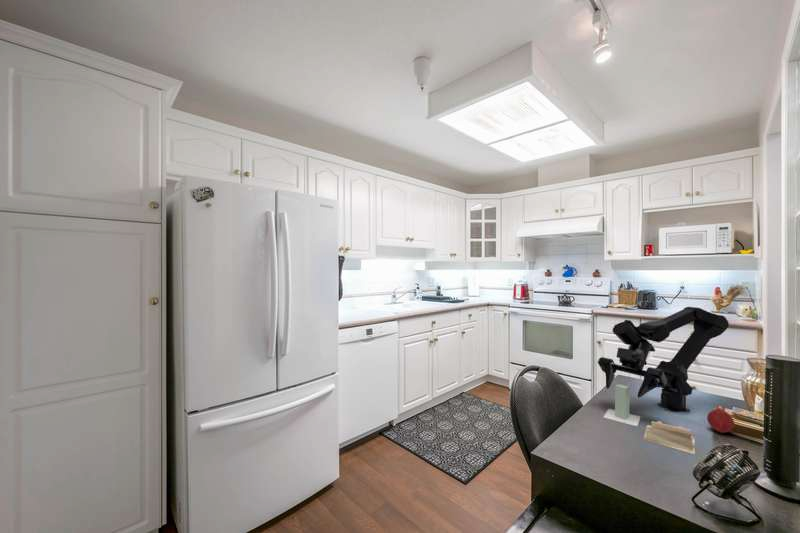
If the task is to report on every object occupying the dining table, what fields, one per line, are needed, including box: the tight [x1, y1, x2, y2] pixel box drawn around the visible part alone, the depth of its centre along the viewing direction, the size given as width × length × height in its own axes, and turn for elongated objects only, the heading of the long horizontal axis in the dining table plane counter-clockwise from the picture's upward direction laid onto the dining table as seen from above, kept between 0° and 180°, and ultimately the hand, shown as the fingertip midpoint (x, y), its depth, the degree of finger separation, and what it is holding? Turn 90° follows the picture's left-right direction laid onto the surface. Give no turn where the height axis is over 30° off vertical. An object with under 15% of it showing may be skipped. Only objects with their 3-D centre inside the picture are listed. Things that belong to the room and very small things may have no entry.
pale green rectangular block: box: [614, 383, 631, 420], centre depth 109 cm, size 3×3×10 cm
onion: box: [706, 405, 735, 434], centre depth 100 cm, size 6×6×8 cm
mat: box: [603, 408, 641, 427], centre depth 109 cm, size 9×9×1 cm
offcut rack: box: [642, 420, 696, 455], centre depth 95 cm, size 12×11×5 cm
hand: (622, 392), depth 109 cm, fingers open, 9 cm apart
